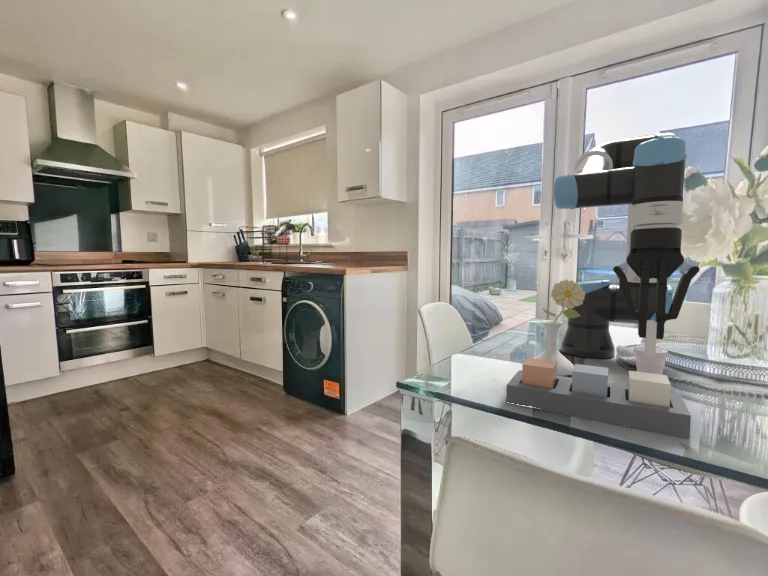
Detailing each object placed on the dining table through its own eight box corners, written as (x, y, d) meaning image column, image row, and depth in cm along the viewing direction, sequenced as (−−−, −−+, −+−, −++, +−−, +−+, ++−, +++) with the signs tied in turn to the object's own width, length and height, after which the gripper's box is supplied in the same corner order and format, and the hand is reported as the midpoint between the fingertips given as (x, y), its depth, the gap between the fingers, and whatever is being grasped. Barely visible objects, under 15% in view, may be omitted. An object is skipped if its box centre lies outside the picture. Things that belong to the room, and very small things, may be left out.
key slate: (574, 386, 78) (575, 363, 78) (607, 391, 75) (608, 367, 75) (571, 395, 73) (572, 371, 73) (606, 401, 70) (607, 375, 70)
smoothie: (672, 396, 80) (675, 333, 79) (639, 394, 82) (642, 332, 81) (656, 386, 87) (659, 328, 85) (626, 385, 88) (629, 327, 87)
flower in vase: (524, 376, 95) (526, 280, 94) (531, 365, 105) (533, 277, 103) (582, 384, 89) (585, 281, 87) (583, 371, 99) (586, 278, 97)
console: (518, 386, 88) (518, 370, 87) (678, 413, 72) (679, 393, 71) (506, 403, 77) (506, 384, 77) (689, 438, 62) (690, 415, 61)
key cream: (627, 394, 74) (628, 370, 73) (665, 400, 70) (666, 375, 70) (628, 405, 68) (629, 378, 68) (669, 411, 65) (670, 384, 65)
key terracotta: (527, 379, 83) (527, 357, 83) (556, 383, 80) (557, 361, 80) (522, 387, 78) (522, 364, 78) (552, 392, 75) (553, 368, 75)
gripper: (613, 228, 67) (608, 355, 69) (706, 224, 60) (699, 365, 62) (613, 231, 74) (608, 347, 75) (697, 227, 67) (690, 355, 68)
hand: (649, 355), depth 69 cm, fingers closed
